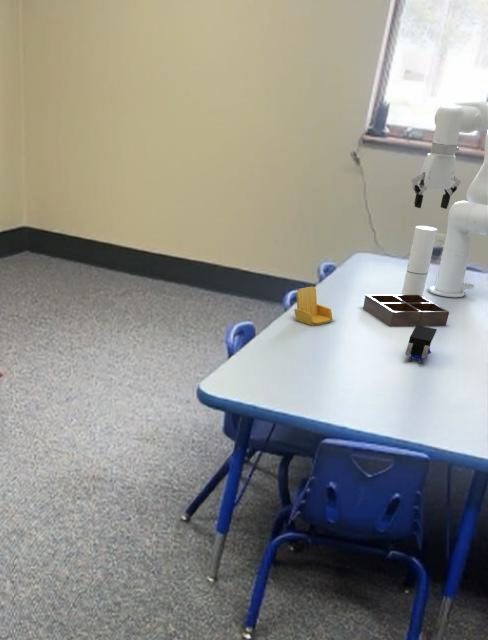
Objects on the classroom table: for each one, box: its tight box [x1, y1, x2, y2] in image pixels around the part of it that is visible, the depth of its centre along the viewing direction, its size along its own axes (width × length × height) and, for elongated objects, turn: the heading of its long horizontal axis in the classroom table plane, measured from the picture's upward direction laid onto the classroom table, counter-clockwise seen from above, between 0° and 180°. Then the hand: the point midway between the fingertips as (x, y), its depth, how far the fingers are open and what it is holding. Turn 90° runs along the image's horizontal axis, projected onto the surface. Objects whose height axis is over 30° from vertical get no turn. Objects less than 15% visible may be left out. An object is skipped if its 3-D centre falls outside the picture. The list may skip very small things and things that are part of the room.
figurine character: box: [405, 325, 438, 364], centre depth 230 cm, size 7×8×15 cm
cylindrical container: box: [400, 225, 438, 297], centre depth 276 cm, size 7×7×25 cm
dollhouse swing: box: [294, 286, 334, 327], centre depth 254 cm, size 10×10×9 cm
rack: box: [362, 294, 450, 327], centre depth 266 cm, size 20×20×5 cm
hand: (430, 207), depth 265 cm, fingers open, 9 cm apart
